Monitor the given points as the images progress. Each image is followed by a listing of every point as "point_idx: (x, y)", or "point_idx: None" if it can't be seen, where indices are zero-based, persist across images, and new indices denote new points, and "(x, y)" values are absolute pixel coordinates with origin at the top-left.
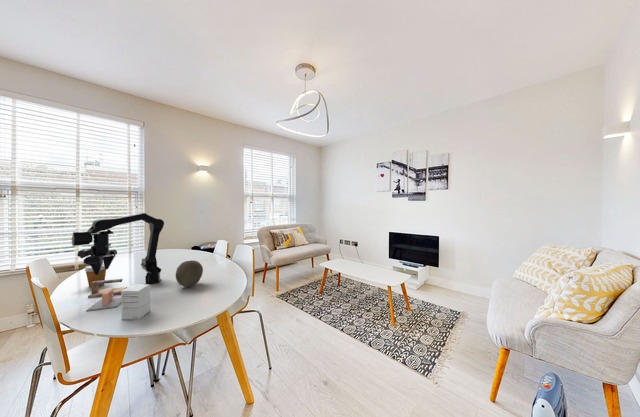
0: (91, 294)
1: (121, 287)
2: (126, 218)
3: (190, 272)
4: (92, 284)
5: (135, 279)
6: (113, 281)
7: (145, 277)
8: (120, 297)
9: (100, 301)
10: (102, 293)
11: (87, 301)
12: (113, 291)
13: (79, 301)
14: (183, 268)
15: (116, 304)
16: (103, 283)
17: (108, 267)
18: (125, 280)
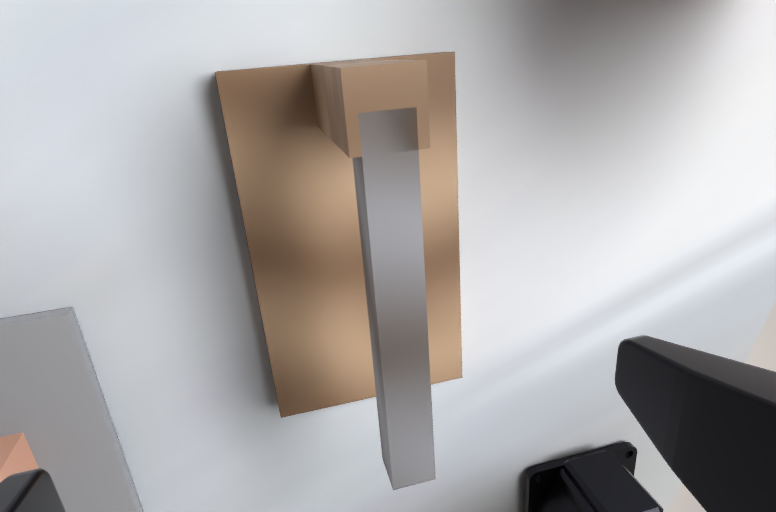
0: (271, 87)
1: (459, 325)
2: None
3: None
4: (334, 89)
5: (744, 276)
6: (381, 389)
7: (600, 507)
8: (126, 494)
9: (7, 358)
10: (283, 224)
11: (72, 152)
12: (331, 318)
13: (82, 27)
14: None
15: None
16: (362, 253)
17: (654, 440)
18: (763, 179)
